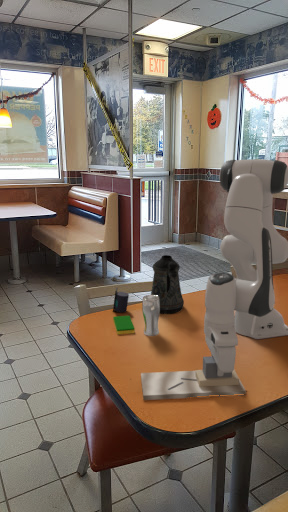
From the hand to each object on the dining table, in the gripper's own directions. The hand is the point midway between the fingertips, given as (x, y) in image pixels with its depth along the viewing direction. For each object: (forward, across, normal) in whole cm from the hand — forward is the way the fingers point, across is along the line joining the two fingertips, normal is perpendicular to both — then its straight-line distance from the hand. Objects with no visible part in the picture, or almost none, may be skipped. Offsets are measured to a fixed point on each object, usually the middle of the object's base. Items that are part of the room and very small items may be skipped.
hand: (217, 370), depth 117 cm
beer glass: (+5, -38, -17) cm, 42 cm away
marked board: (+5, 0, -8) cm, 9 cm away
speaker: (+5, -63, -29) cm, 70 cm away
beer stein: (+5, -63, -7) cm, 64 cm away
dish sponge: (+6, -45, -28) cm, 53 cm away
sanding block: (+3, 0, 0) cm, 3 cm away
